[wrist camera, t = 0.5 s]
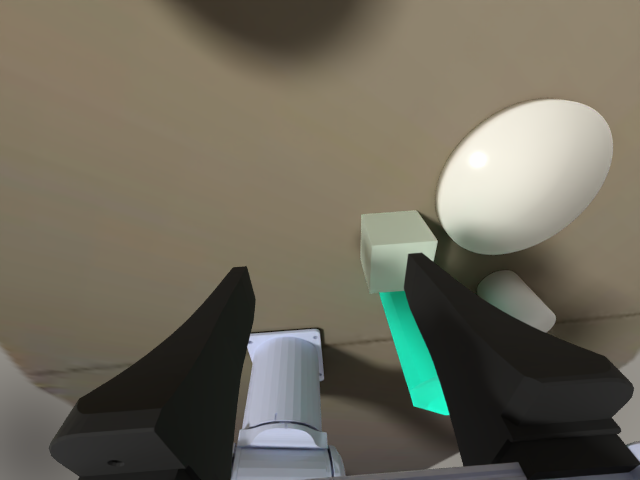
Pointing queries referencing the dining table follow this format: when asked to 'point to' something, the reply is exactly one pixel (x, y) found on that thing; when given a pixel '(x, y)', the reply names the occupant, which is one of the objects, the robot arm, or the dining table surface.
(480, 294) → the grey cylinder
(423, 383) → the candle
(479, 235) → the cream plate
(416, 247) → the sage block
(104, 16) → the dining table surface
